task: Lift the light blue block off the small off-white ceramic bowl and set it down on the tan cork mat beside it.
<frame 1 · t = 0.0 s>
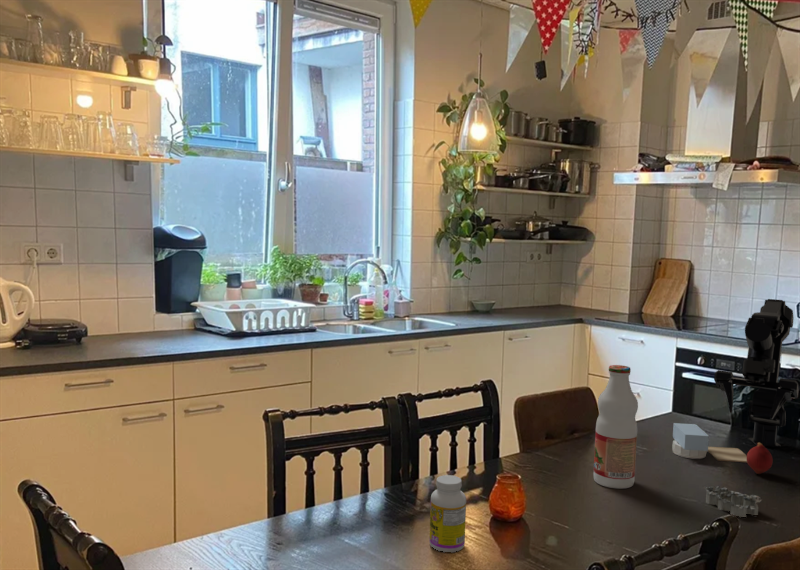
hand: (750, 415, 171), 15 cm above the table, tool tilted 35°, fingers open, 9 cm apart
onion: (758, 474, 173), on the table
fruit juice: (613, 483, 164), on the table
mat: (728, 455, 187), on the table
egg carton: (730, 509, 151), on the table
supplement bottle: (446, 546, 129), on the table
light blue block: (689, 443, 187), point 3 cm above the table, touching bowl
bowl: (689, 453, 187), on the table
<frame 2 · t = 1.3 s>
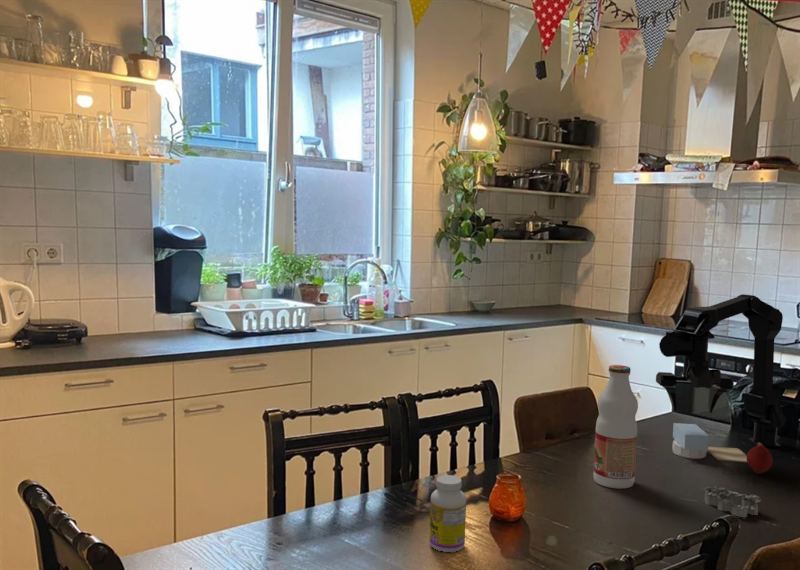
hand: (692, 411, 186), 12 cm above the table, tool pointing down, fingers open, 9 cm apart
nothing on the table moved.
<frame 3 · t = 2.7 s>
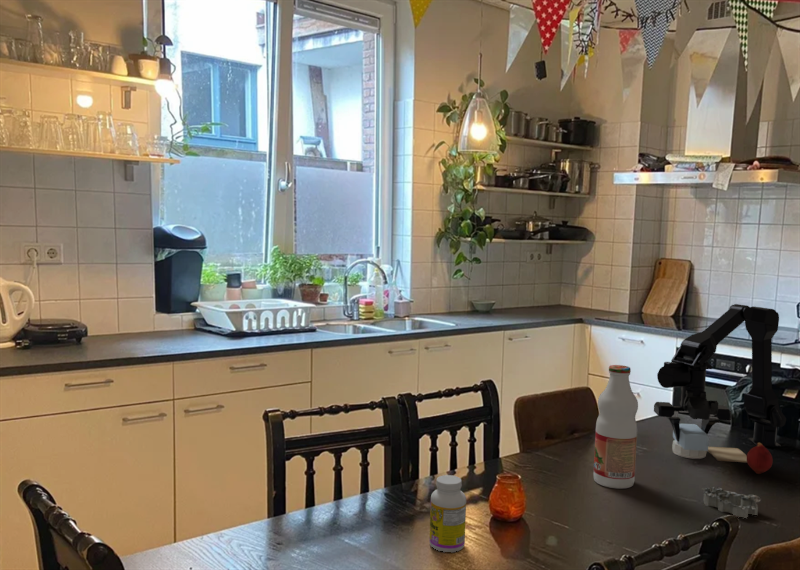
hand: (689, 441, 187), 3 cm above the table, tool pointing down, fingers closed on light blue block, 6 cm apart
light blue block: (689, 443, 187), point 3 cm above the table, touching bowl, gripper
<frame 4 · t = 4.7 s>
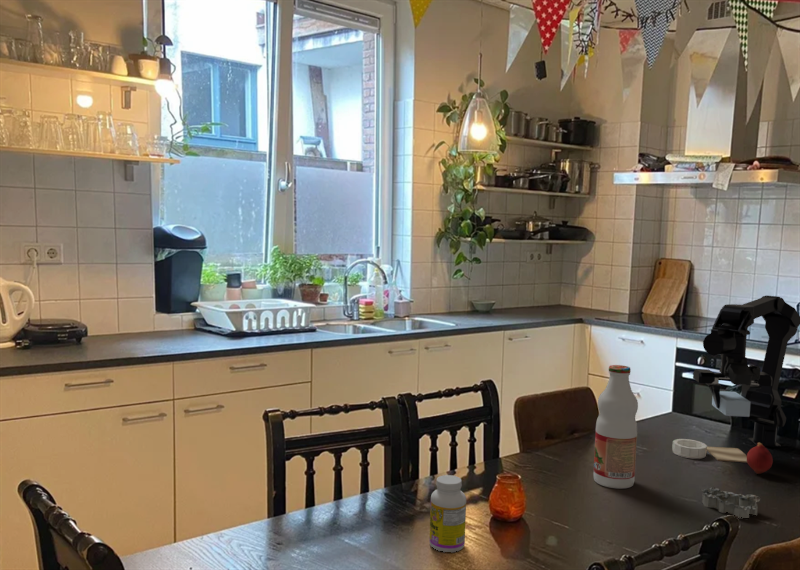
hand: (730, 408, 186), 13 cm above the table, tool pointing down, fingers closed on light blue block, 6 cm apart
light blue block: (730, 410, 186), point 12 cm above the table, touching gripper
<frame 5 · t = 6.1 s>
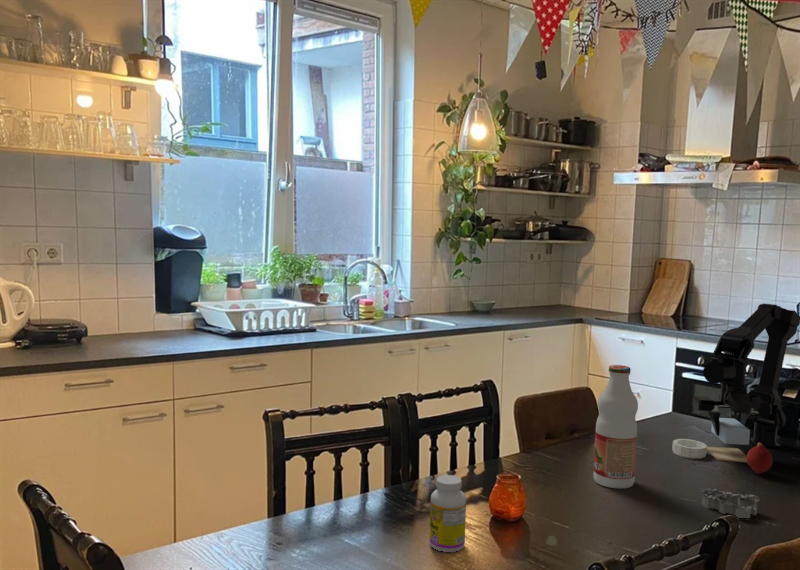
hand: (729, 436, 187), 5 cm above the table, tool pointing down, fingers closed on light blue block, 6 cm apart
light blue block: (729, 437, 187), point 5 cm above the table, touching gripper
when the fingers open (2 cm above the table, at t = 7.2 s): light blue block drops 1 cm, resting on mat.
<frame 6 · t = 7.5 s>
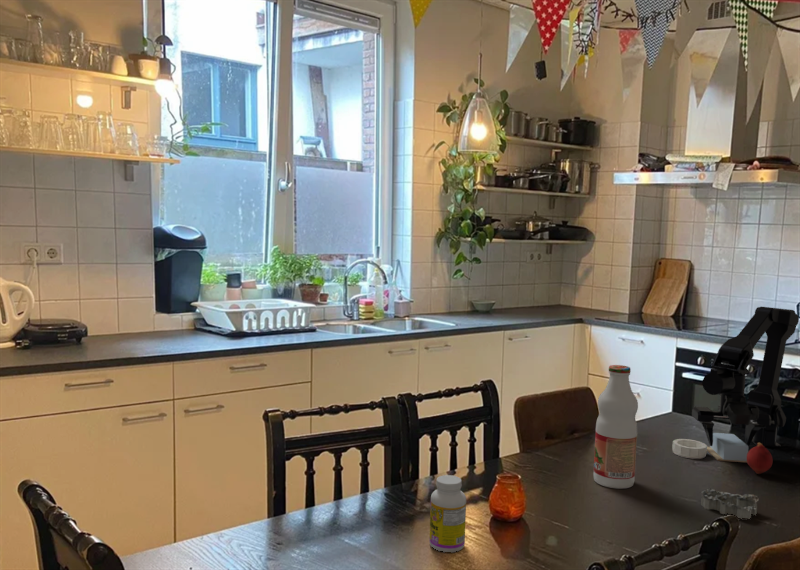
hand: (728, 446, 187), 2 cm above the table, tool pointing down, fingers open, 9 cm apart
light blue block: (728, 453, 187), resting on mat
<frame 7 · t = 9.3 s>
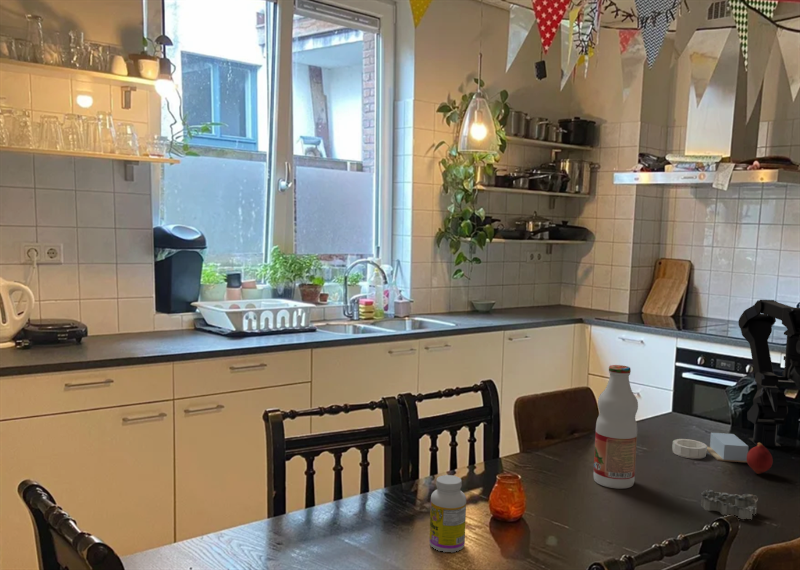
hand: (793, 412, 183), 13 cm above the table, tool pointing down, fingers open, 9 cm apart
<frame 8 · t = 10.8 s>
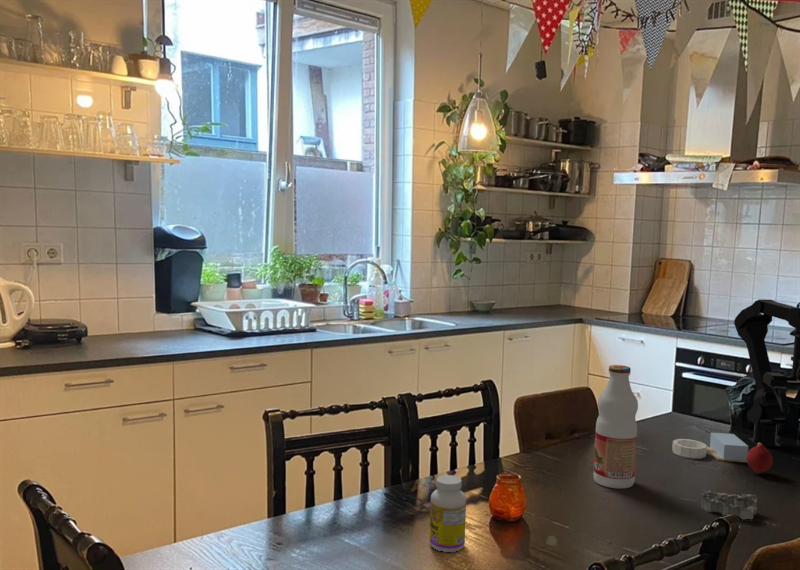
at the end: light blue block inside the target area on the mat (0.0 cm from its centre), point 0.4 cm above the mat's base; light blue block touching mat; the gripper is holding nothing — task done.
